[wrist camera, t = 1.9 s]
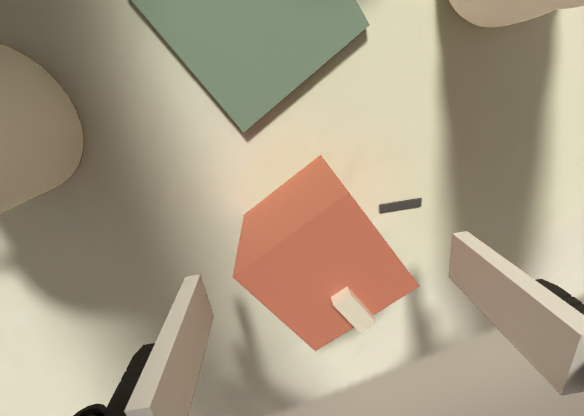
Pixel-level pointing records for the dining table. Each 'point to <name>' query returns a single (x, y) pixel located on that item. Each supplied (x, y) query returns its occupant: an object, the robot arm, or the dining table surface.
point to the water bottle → (507, 10)
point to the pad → (254, 45)
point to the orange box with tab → (318, 258)
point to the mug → (34, 131)
